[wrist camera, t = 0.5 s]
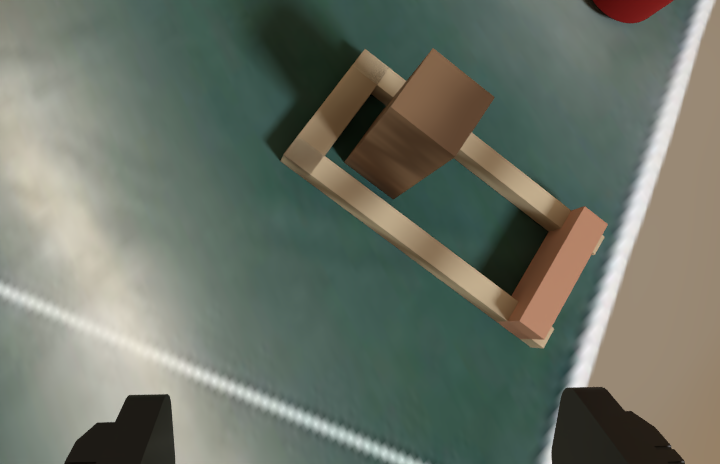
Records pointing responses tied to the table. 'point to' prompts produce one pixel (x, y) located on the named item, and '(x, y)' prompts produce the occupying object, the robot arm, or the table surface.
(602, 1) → the beverage can
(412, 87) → the block
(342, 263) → the table surface
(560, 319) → the table surface
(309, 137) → the frame
